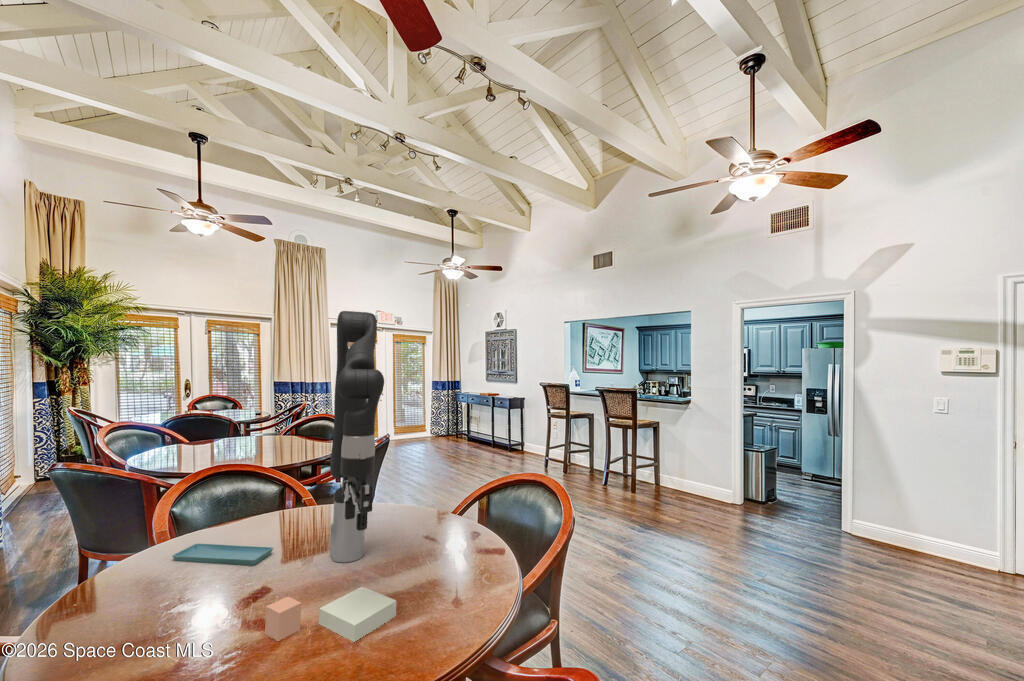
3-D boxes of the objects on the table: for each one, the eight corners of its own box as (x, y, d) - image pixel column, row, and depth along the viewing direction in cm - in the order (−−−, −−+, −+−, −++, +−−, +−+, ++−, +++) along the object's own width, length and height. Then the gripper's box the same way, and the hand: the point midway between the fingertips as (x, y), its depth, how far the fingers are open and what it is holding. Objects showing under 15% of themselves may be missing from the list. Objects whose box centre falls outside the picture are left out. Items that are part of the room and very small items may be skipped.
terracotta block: (264, 634, 96) (266, 606, 96) (286, 623, 100) (287, 596, 101) (278, 642, 94) (279, 613, 94) (300, 630, 98) (301, 602, 98)
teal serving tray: (170, 563, 130) (171, 554, 130) (195, 550, 139) (196, 542, 139) (253, 568, 127) (254, 560, 127) (274, 555, 136) (274, 547, 136)
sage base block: (318, 626, 100) (319, 608, 100) (361, 603, 110) (362, 586, 110) (353, 644, 94) (354, 625, 94) (395, 618, 104) (396, 600, 104)
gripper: (333, 450, 108) (330, 518, 107) (351, 461, 96) (348, 537, 95) (363, 447, 112) (361, 512, 111) (385, 457, 101) (382, 530, 100)
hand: (355, 524), depth 103 cm, fingers open, 8 cm apart
